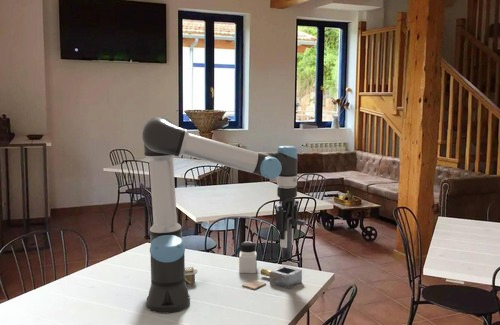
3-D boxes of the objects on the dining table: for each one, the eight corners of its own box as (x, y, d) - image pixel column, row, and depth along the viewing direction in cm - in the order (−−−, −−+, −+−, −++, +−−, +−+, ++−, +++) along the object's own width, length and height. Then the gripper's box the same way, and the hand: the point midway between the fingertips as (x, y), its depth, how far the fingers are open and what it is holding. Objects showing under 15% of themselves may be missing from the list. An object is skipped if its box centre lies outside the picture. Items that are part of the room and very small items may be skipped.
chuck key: (280, 257, 197) (280, 217, 195) (285, 255, 200) (285, 215, 198) (301, 262, 191) (302, 221, 189) (306, 260, 194) (307, 219, 192)
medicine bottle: (256, 273, 209) (256, 245, 207) (239, 273, 209) (239, 245, 208) (256, 267, 216) (256, 240, 214) (239, 267, 216) (239, 240, 215)
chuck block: (289, 288, 192) (289, 276, 192) (255, 279, 202) (255, 267, 201) (301, 282, 199) (301, 269, 199) (268, 273, 209) (268, 261, 208)
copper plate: (254, 290, 191) (254, 288, 191) (242, 286, 195) (242, 284, 195) (265, 284, 196) (265, 283, 196) (253, 281, 200) (253, 279, 200)
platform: (211, 287, 195) (211, 271, 194) (164, 293, 189) (164, 276, 188) (204, 277, 206) (204, 261, 205) (159, 281, 200) (159, 265, 199)
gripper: (282, 190, 185) (282, 252, 188) (307, 184, 198) (306, 242, 201) (266, 188, 189) (266, 249, 192) (290, 182, 202) (290, 239, 205)
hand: (286, 245), depth 197 cm, fingers closed on chuck key, 3 cm apart
